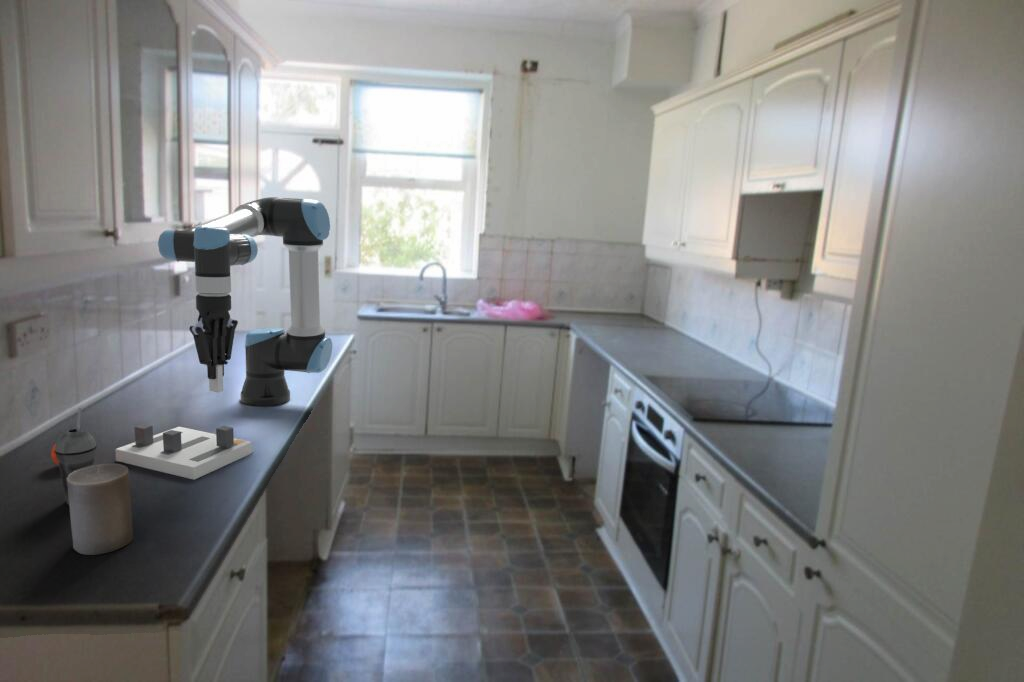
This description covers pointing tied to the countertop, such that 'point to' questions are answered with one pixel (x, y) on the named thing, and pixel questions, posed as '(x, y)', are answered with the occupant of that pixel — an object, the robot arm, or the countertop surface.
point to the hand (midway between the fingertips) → (216, 390)
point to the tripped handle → (224, 436)
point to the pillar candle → (100, 508)
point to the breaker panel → (180, 451)
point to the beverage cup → (74, 452)
